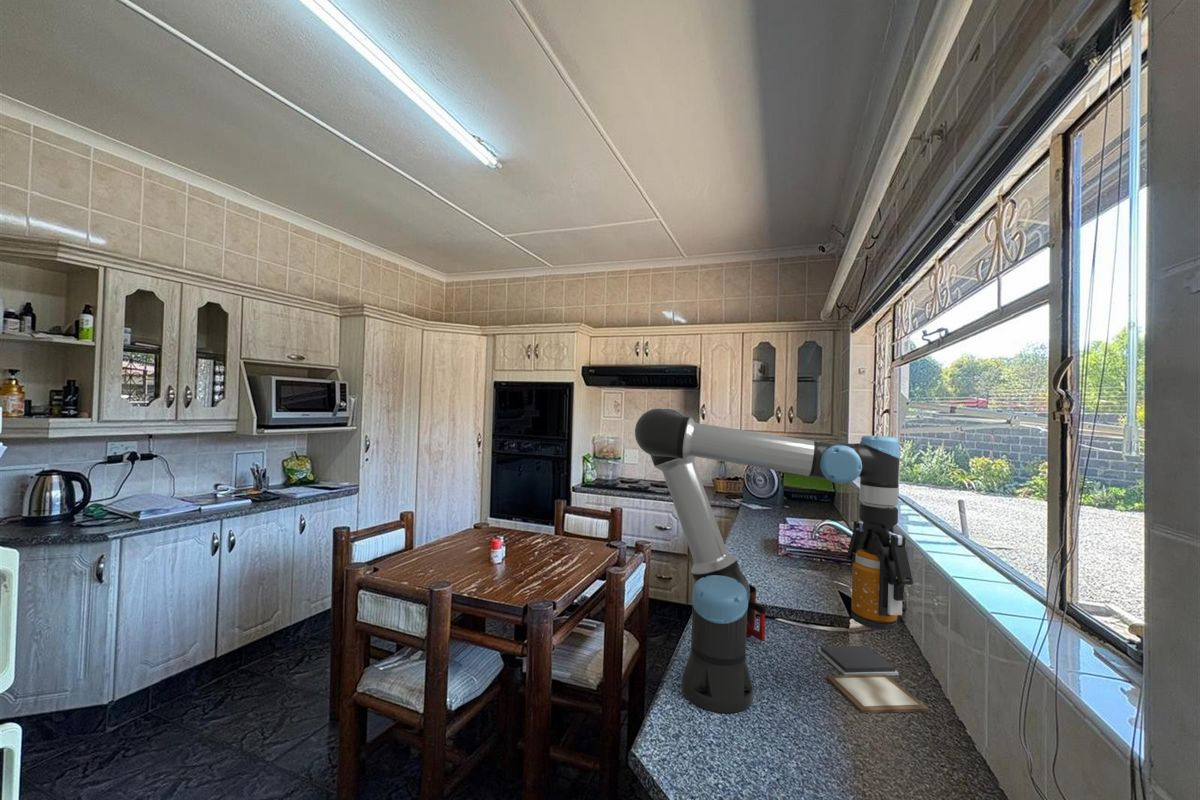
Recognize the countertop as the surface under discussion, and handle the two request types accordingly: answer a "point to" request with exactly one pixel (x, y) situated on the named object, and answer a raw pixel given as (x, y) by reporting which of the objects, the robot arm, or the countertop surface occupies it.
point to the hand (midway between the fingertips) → (876, 603)
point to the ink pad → (857, 660)
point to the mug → (751, 617)
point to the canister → (871, 589)
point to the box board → (876, 694)
